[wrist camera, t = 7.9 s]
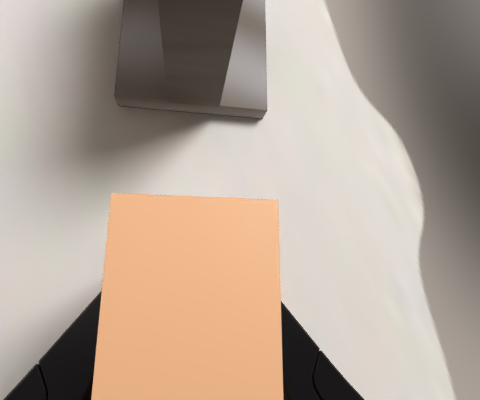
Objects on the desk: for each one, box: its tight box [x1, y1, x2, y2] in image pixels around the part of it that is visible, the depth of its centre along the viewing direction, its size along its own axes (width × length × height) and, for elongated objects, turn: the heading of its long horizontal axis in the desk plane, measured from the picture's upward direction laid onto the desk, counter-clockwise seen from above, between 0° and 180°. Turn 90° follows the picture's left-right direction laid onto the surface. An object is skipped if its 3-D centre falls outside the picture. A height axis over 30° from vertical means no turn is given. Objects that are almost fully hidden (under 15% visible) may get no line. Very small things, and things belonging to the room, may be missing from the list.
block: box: [91, 193, 283, 400], centre depth 9 cm, size 5×2×11 cm, turn 0°
